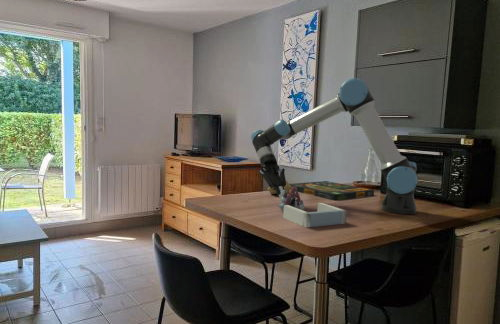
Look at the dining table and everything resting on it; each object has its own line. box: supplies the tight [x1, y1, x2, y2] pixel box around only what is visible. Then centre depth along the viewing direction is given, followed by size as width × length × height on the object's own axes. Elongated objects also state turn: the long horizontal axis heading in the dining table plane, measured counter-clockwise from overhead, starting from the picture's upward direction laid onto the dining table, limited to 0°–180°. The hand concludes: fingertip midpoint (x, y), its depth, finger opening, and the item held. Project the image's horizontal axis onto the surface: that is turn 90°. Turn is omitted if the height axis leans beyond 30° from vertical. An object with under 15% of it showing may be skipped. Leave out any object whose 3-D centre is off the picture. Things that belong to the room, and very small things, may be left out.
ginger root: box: [267, 181, 293, 195], centre depth 201 cm, size 16×16×8 cm
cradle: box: [282, 202, 347, 228], centre depth 147 cm, size 15×19×5 cm
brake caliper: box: [277, 187, 305, 212], centre depth 161 cm, size 11×11×12 cm
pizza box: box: [289, 180, 375, 201], centre depth 216 cm, size 35×35×4 cm
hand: (284, 200), depth 165 cm, fingers closed
